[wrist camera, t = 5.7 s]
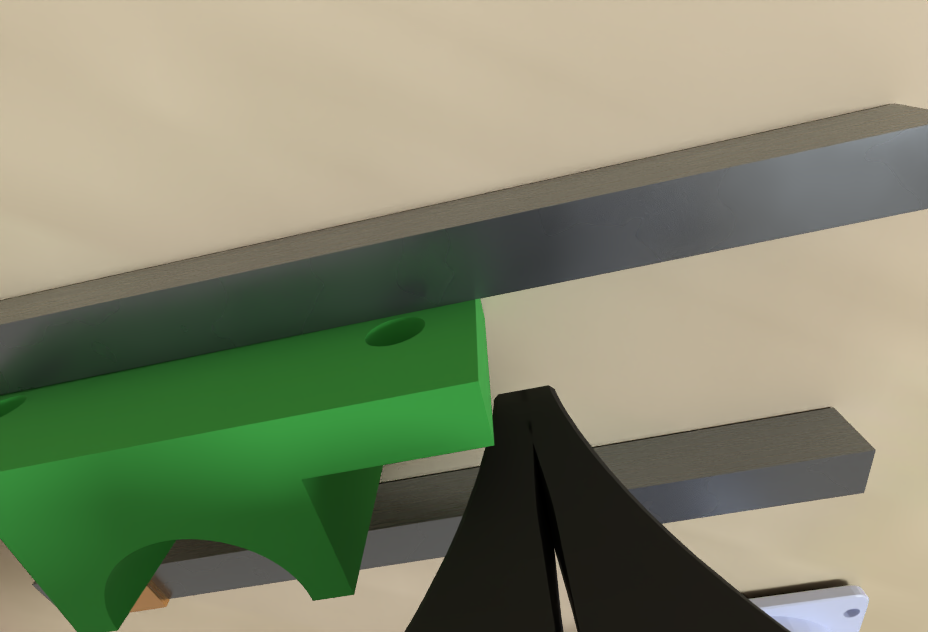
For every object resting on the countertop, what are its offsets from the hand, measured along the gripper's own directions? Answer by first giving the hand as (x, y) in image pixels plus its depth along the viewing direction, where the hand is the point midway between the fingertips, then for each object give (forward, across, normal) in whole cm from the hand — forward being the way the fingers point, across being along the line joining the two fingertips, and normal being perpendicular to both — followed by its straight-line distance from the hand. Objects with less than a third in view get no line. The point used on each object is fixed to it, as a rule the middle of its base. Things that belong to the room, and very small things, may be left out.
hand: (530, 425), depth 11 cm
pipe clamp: (+2, +6, -1) cm, 7 cm away
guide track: (+2, +3, 0) cm, 4 cm away
